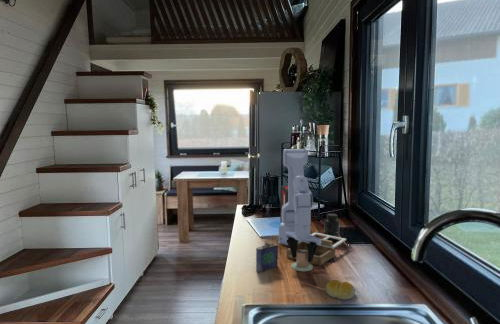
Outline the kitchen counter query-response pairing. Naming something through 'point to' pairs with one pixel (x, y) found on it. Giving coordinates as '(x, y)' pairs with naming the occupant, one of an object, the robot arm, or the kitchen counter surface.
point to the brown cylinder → (302, 258)
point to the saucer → (302, 268)
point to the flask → (266, 257)
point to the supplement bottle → (332, 227)
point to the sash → (326, 242)
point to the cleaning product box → (283, 197)
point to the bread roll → (340, 289)
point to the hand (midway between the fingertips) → (302, 259)
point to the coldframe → (320, 254)
